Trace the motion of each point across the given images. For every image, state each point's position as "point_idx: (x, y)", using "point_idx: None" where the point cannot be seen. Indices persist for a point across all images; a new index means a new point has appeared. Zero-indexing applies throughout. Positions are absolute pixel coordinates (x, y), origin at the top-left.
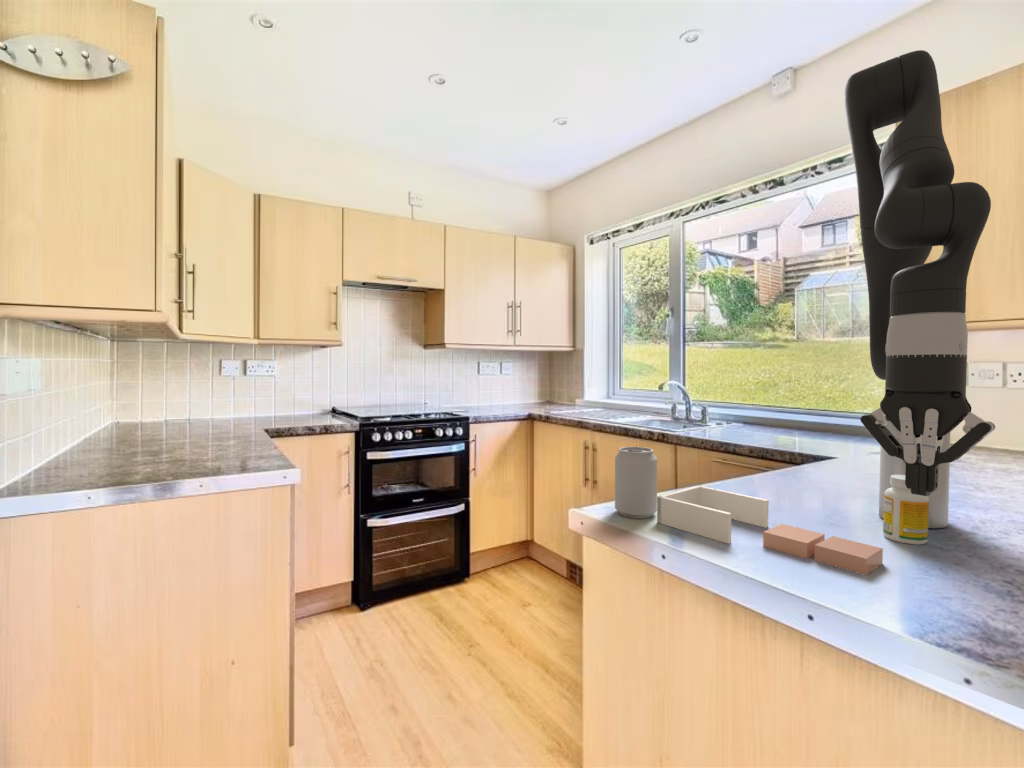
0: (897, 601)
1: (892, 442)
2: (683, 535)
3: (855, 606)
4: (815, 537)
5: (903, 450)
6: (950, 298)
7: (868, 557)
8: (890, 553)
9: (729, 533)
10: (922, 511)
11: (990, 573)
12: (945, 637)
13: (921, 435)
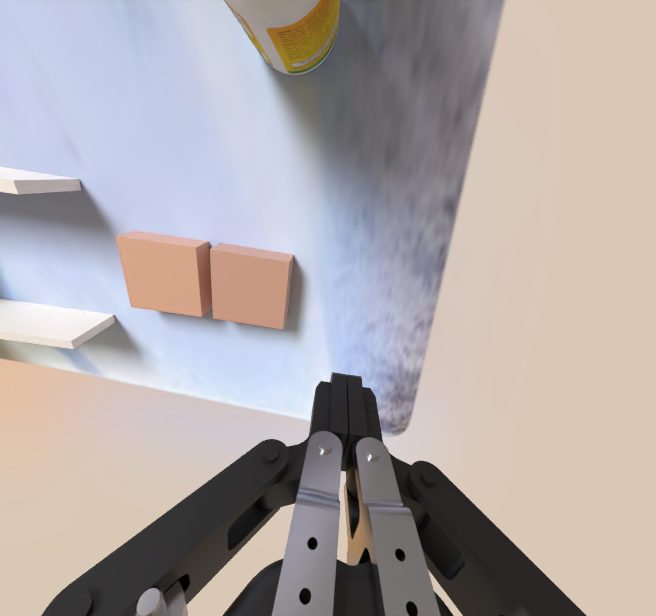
0: (329, 368)
1: (255, 529)
2: None
3: (300, 401)
4: (195, 278)
5: (293, 500)
6: None
7: (283, 321)
8: (292, 183)
9: (102, 327)
10: (326, 11)
11: (433, 175)
12: None
13: (336, 535)
